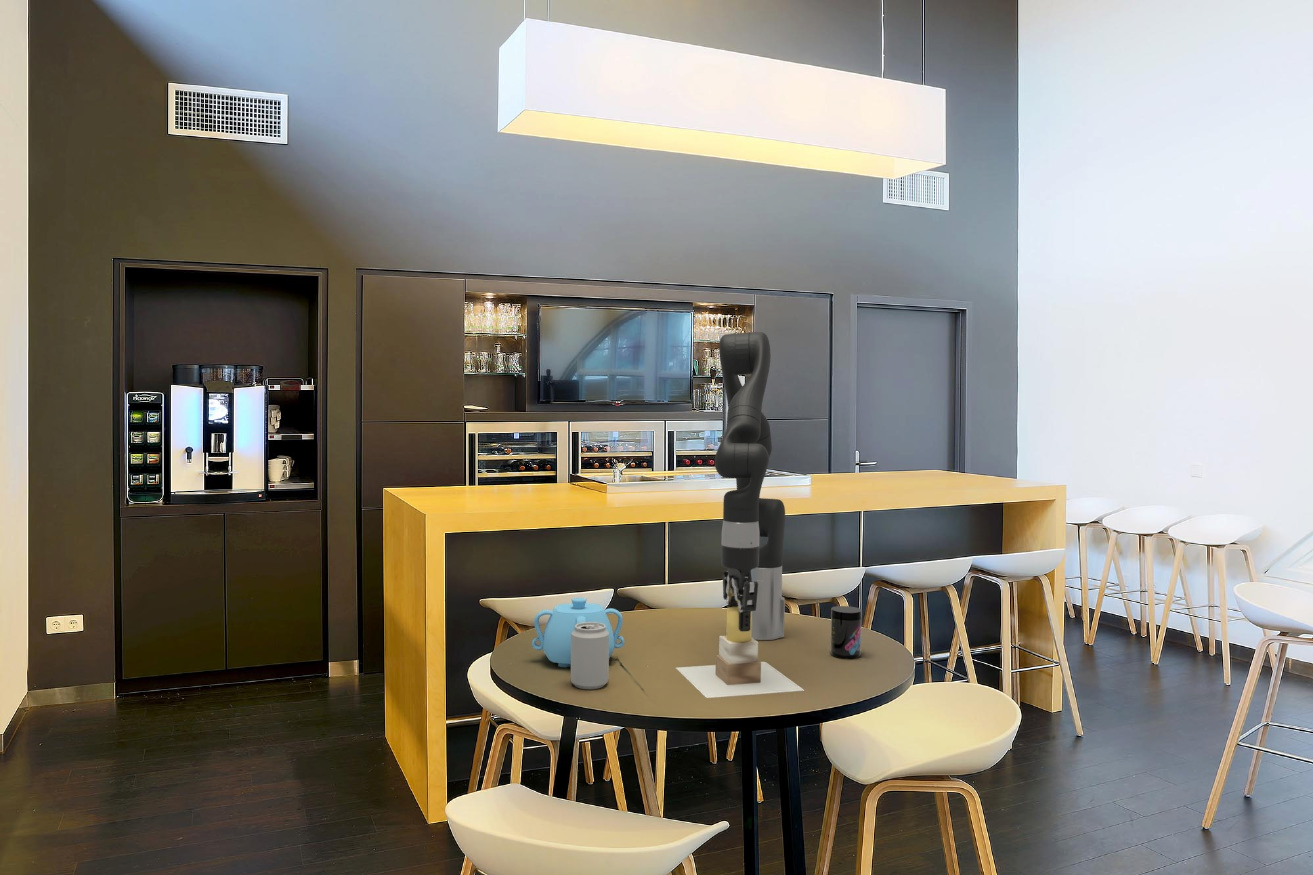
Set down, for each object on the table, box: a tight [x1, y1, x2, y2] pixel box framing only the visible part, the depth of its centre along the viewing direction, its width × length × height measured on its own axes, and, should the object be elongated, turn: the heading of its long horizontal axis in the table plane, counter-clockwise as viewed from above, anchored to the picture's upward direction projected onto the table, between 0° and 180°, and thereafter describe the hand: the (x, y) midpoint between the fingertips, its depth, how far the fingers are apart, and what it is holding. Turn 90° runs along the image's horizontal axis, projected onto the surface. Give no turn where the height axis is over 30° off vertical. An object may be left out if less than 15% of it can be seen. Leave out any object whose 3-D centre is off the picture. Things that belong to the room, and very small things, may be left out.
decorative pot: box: [531, 597, 626, 668], centre depth 200 cm, size 16×16×14 cm
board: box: [675, 661, 806, 699], centre depth 186 cm, size 20×20×1 cm
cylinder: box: [725, 607, 752, 643], centre depth 185 cm, size 5×5×6 cm
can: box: [570, 622, 610, 690], centre depth 184 cm, size 8×8×12 cm
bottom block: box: [715, 654, 762, 685], centre depth 186 cm, size 7×7×4 cm
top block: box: [718, 635, 759, 664], centre depth 186 cm, size 6×6×4 cm
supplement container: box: [829, 605, 863, 660], centre depth 208 cm, size 7×7×10 cm
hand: (738, 626), depth 186 cm, fingers open, 5 cm apart
